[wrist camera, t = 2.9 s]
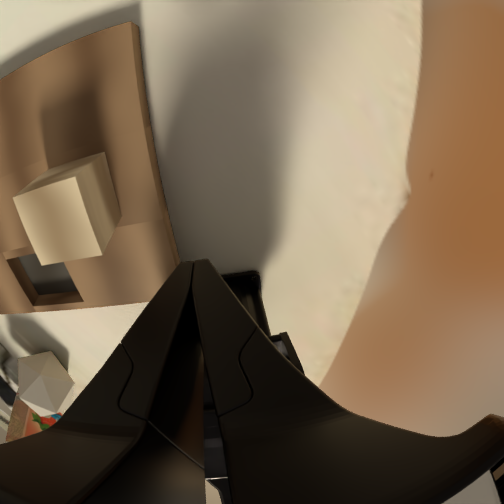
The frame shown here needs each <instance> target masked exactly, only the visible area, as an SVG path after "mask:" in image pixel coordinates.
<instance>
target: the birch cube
mask: <svg viewBox="0 0 504 504" xmlns="http://www.w3.org/2000/svg"><path fill="white" fill-rule="evenodd" d="M13 200H14V203H15V205H16V208H17V211H18V213H19V216H20V218H21V221H22V223H23V226H24V228H25V231H26V233H27V235H28V237H29V240H30V242H31V244H32V246H33V248H34V251H35V253H36V255H37V257H38V259H39V261H40V263H41V265H48V264H54V263H59V262H65V261H71V260H77V259H83V258H88V257H94V256H100V255H103V253H104V251H105V249H106V247H107V245H108V243H109V240H110V238H111V236H112V234H113V232H114V230H115V228H116V226H117V225H118V223H119V221H120V219H121V217H122V215H121V212H120V208H119V205H118V201H117V198H116V194H115V191H114V187H113V183H112V179H111V176H110V172H109V168H108V164H107V159H106V155H105V152H102V153H99V154H95V155H91V156H88V157H85V158H81V159H78V160H75V161H72V162H68V163H65V164H62V165H59V166H56V167H53V168H51V169H48V170H47V171H45V172H44V173H43V174H41V175H40V176H39V177H37V178H36V179H35V180H34V181H32V182H31V183H30V184H28V185H27V186H26V187H25V188H24V189H22V190H21V191H20V192H19V193H18V194H16V195H15V196H14V197H13Z"/></svg>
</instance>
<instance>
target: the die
mask: <svg viewBox="0 0 504 504" xmlns="http://www.w3.org/2000/svg"><path fill="white" fill-rule="evenodd" d="M18 383H19V398H20V399H21V400H22V401H24V402H25V403H26V404H27V405H28V406H29V407H30V408H31V409H32V410H34V411H35V412H36V413H37V414H38V415H39V416H41V417H42V416H47V415H51V414H56V413H59V412H62V411H64V410H67V409H68V408H69V407H70V406H71V404H72V402H73V393H74V384H75V382H74V381H73V379H72V378H71V377H70V375H69V374H68V372H67V371H66V370H65V368H64V367H63V366H62V365H61V363H60V362H59V361H58V359H57V358H56V357H55V355H54V354H53V353H52V351H48V352H44V353H40V354H35V355H31V356H27V357H23V358H18Z"/></svg>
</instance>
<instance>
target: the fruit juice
mask: <svg viewBox="0 0 504 504" xmlns="http://www.w3.org/2000/svg"><path fill="white" fill-rule="evenodd" d="M63 413H64V411H62V412H59V413H56V414H51V415H47V416H42V417H41V416H39V415H38V414H37V413H36V412H35V411H34V410H32V409H31V408H30V407H29V406H28V405H27V404H26V403H25V402H24V401H22V400H21V399H20V398H19V388H18V391H17V394H16V398H15V401H14V405H13V409H12V413H11V417H10V422H9V426H8V431H7V436H6V441H5V443H7V442H10V441H13V440H16V439H20V438H23V437H26V436H29V435H32V434H35V433H38V432H40V431H43V430H45V429H47V428H49V427H50V426H52V425H53V424H54V423H55V422H56V421H58V420H59V419H60V418H61V416H62V415H63Z"/></svg>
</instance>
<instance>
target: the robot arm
mask: <svg viewBox="0 0 504 504" xmlns="http://www.w3.org/2000/svg"><path fill="white" fill-rule="evenodd" d="M253 276H256V277H255V278H252V277H253ZM121 343H122V344H121ZM121 343H119V344H118V346H117V347H116V349H115V350H114V351H113V353H112V354H111V356H110V357H109V358H108V360H107V361H106V362H105V364H104V365H103V366H102V368H101V369H100V370H99V371H98V373H97V374H96V375H95V376H94V378H93V379H92V380H91V381H90V383H89V384H88V385H87V386H86V387H85V389H84V390H83V391H82V392H81V393H80V395H79V396H78V397H77V398H76V399H75V401H74V402H73V403H72V404H71V406H70V407H69V408H68V409H67V410H66V412H65V413H64V414H63V415H62V416H61V418H60V419H59V420H58V421H56V422H55V423H54V424H53V425H52V426H50V427H49V428H47V429H45V430H43V431H40V432H38V433H35V434H32V435H29V436H26V437H23V438H20V439H16V440H13V441H10V442H7V443H4V444H0V504H206V494H205V480H207V481H208V482H209V483H210V484H211V485H212V486H214V487H215V488H216V489H217V490H218V491H219V495H220V498H221V502H222V504H504V417H501V416H497V415H494V414H489V415H487V416H486V417H484V418H483V419H482V420H480V421H479V422H477V423H476V424H475V425H473V426H472V427H470V428H469V429H467V430H466V431H464V432H462V433H461V434H458V435H454V436H450V437H435V436H428V435H424V434H420V433H416V432H412V431H408V430H405V429H401V428H398V427H394V426H391V425H388V424H385V423H381V422H378V421H375V420H372V419H369V418H366V417H363V416H360V415H357V414H355V413H353V412H350V411H348V410H347V409H345V408H343V407H342V406H340V405H339V404H337V403H336V402H335V401H333V400H332V399H331V398H330V397H329V396H327V395H326V394H325V393H324V392H323V391H322V390H321V389H319V388H318V387H317V386H316V385H315V384H314V383H313V382H311V381H310V380H309V379H308V378H307V377H306V376H305V374H304V371H303V368H302V365H301V363H300V360H299V358H298V356H297V354H296V351H295V349H294V347H293V345H292V343H291V340H290V338H289V336H288V334H287V332H283V333H279V334H278V335H273V336H271V333H270V329H269V325H268V321H267V317H266V313H265V309H264V305H263V301H262V296H261V281H260V275H259V272H257V271H248V272H242V273H235V274H228V275H220V274H219V273H218V271H217V270H216V269H215V267H214V266H213V265H212V263H211V262H210V260H209V259H201V260H196V261H195V262H193V261H187V262H181V263H179V264H178V265H177V267H176V268H175V269H174V271H173V272H172V273H171V274H170V276H169V277H168V278H167V280H166V281H165V282H164V283H163V285H162V286H161V287H160V289H159V290H158V291H157V293H156V294H155V295H154V297H153V298H152V299H151V301H150V302H149V303H148V305H147V306H146V307H145V309H144V310H143V311H142V313H141V314H140V315H139V317H138V318H137V319H136V321H135V322H134V324H133V325H132V326H131V328H130V329H129V330H128V332H127V333H126V335H125V336H124V337H123V339H122V340H121Z"/></svg>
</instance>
